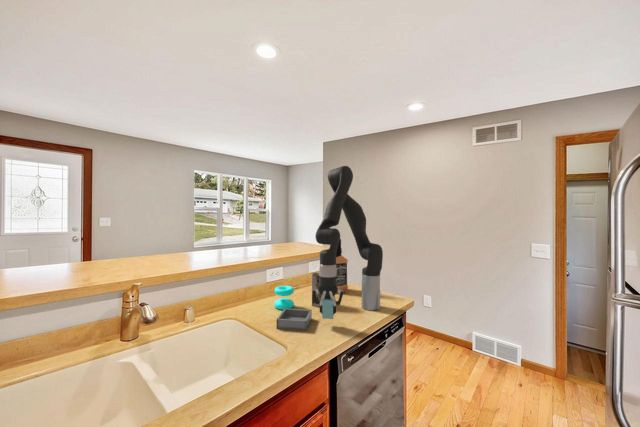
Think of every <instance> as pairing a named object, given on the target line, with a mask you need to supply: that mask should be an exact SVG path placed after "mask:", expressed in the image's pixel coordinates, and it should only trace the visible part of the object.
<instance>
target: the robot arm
mask: <svg viewBox="0 0 640 427" xmlns="http://www.w3.org/2000/svg"><path fill="white" fill-rule="evenodd" d="M353 179H354V174H353V170H352V168H350V167H349V166H348V165H342V166H339V167H336V168H333V169H330V170H329V171H328V172H327V181H328V183H329V185H330V187H331V190H332V191H333V195H332V197H331V198H330V199H329V201H328V203H327V204H326V207H325V212H324V216H323V219H322V221H321V223H319V225H318V228H317V230H316V232H315V241H316V243H317V244H319V245H329V248H328V249H323V250H321V251H320V252H319V267H318V268H319V271H318V273H319V288H318V289H313V291H312V290H311V294H312V293H313V296H314V300H315V303H316V304H319V305H320V306H319V313H321V315H322V299H324V298H331V300H333V314H334V315H335V314H336V313H337V306H340V305H341V302H342V300H343V296H344V293H345V292H344V291H343V290H339V289H338V288H337V268H336V253H337V248H338V244H339V241H340V239H341V232H340V231H339V229H337V228H336V226H338V225H339V224H340V220H341V216H342V215H341V214H342V212H343V214H344V216H345V219H346V221H347V224H348V226H349V227H350V230H351V233H352V235H353V238H354V240H355V243H356V247H357V249H358V252H359V255H360V257H361V258H362V259H363V260H365V261H367V265H366V266H364V267H362V270H361V302H360V303H361V308H362V309H363V310H367V311H378V310H379V311H381V271H382V269H383V257H384V254H383V253H384V252H383V248H382V246H381V245H379V244H378V243H373V242H371V241H370V240H369V237H368V234H367V231H366V230H367V217H366V214H365V212H364V210H363V207H362V205H361V204H359V203H358V202H357V201H356V200H355V199H354V198H353V197H351V196H350V194H349V190H350V188H351V186H352V183H353ZM334 227H335V228H334ZM318 291H319V292H320V294H321V295H322V297H321V301H320V300H319V299H318V296H317V294H318ZM337 292H338V293H337ZM336 294H337V295H338V300H336Z"/></svg>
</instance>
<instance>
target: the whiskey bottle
mask: <svg viewBox="0 0 640 427" xmlns="http://www.w3.org/2000/svg"><path fill="white" fill-rule="evenodd" d="M342 250H343V249H342V239H341V238H340V241H339V244H338V248H337V253H336V268H337V288H338V289H339V290H343V291H344V293H348V292H349V284H348V262H349V259H348V258H346V257H345V256H343V255H342V253H343V251H342ZM336 294H338V292H337V293H336Z"/></svg>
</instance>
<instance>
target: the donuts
mask: <svg viewBox="0 0 640 427" xmlns="http://www.w3.org/2000/svg"><path fill="white" fill-rule="evenodd" d="M274 293H275V295H276V296H279V297H281V298H279V299H277V300H275V301H274V305H273V306H274V308H276V309H277V310H282V311H283V310H284V309H285V308H286V309H293V307H294V305H295V302H294V301H293V299H291V298H285V297H290V296H291V295H293V294H294V293H295V289H294V287H292V286H290V285H279V286H276V287H275V288H274ZM282 297H284V298H282Z"/></svg>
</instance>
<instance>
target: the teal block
mask: <svg viewBox="0 0 640 427" xmlns="http://www.w3.org/2000/svg"><path fill="white" fill-rule="evenodd" d="M321 315H322V317H321V318H322V319H325V320H327V319H328V320H329V319H330V320H334V316H335V314H333V300H331V298H324V299H322V314H321Z"/></svg>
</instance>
